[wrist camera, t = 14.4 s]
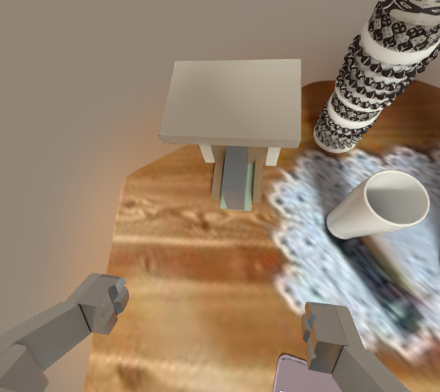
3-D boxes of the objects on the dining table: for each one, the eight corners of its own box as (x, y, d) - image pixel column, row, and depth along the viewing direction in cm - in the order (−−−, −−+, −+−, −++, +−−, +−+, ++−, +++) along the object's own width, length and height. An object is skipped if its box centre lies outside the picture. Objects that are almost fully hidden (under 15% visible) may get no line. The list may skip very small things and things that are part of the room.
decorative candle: (353, 161, 42) (489, 20, 18) (304, 145, 44) (370, 1, 20) (366, 123, 44) (502, -47, 21) (319, 110, 46) (394, -57, 23)
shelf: (273, 213, 40) (300, 154, 20) (199, 207, 42) (155, 148, 22) (276, 156, 44) (300, 58, 24) (206, 153, 46) (175, 61, 26)
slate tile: (244, 210, 41) (243, 192, 31) (227, 208, 41) (221, 190, 32) (248, 166, 44) (248, 137, 34) (231, 165, 44) (227, 136, 35)
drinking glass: (320, 204, 40) (360, 167, 26) (360, 206, 39) (425, 169, 25) (321, 242, 38) (366, 224, 24) (364, 245, 37) (437, 229, 23)
